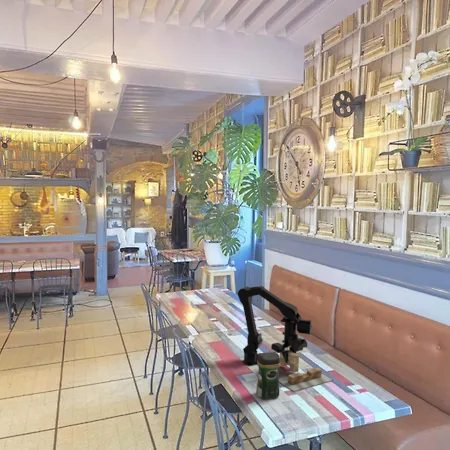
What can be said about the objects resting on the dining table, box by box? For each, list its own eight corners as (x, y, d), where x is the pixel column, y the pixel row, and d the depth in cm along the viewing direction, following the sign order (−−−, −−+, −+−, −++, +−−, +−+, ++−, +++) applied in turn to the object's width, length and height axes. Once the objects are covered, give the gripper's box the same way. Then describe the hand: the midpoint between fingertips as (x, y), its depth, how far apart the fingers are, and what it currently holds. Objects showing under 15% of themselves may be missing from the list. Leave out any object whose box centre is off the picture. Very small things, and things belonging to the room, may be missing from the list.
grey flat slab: (293, 392, 164) (293, 383, 163) (276, 380, 174) (277, 372, 174) (332, 380, 176) (333, 372, 175) (314, 370, 186) (315, 362, 186)
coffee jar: (273, 389, 165) (275, 348, 164) (281, 398, 158) (283, 355, 157) (253, 392, 163) (255, 350, 162) (260, 401, 155) (262, 357, 154)
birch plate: (293, 372, 180) (294, 356, 179) (279, 364, 189) (280, 348, 189) (298, 371, 181) (299, 355, 181) (284, 362, 191) (284, 347, 190)
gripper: (285, 339, 172) (284, 372, 173) (315, 333, 182) (314, 364, 183) (271, 332, 182) (270, 363, 183) (300, 326, 191) (299, 356, 192)
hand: (288, 362), depth 185 cm, fingers closed on birch plate, 3 cm apart
